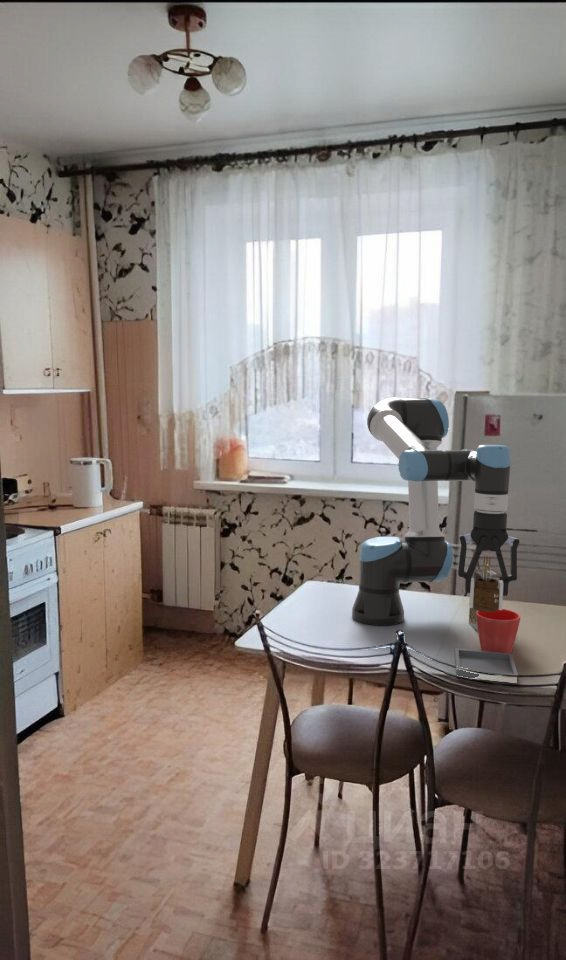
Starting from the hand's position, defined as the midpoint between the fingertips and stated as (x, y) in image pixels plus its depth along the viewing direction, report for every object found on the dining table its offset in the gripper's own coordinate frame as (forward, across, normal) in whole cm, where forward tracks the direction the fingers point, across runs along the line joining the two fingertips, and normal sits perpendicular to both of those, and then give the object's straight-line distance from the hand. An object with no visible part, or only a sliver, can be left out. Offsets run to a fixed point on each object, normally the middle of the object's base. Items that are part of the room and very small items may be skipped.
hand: (485, 607), depth 165 cm
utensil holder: (+1, 0, 0) cm, 1 cm away
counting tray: (+15, +1, 0) cm, 15 cm away
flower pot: (+15, +4, +14) cm, 22 cm away
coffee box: (+15, +2, +31) cm, 35 cm away
